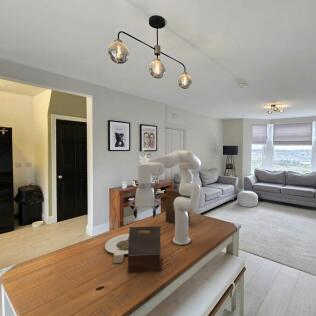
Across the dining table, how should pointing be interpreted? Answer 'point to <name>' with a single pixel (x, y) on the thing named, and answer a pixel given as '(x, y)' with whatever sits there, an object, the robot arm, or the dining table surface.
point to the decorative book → (170, 197)
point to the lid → (144, 240)
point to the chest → (144, 262)
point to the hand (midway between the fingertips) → (144, 217)
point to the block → (118, 256)
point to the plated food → (118, 244)
